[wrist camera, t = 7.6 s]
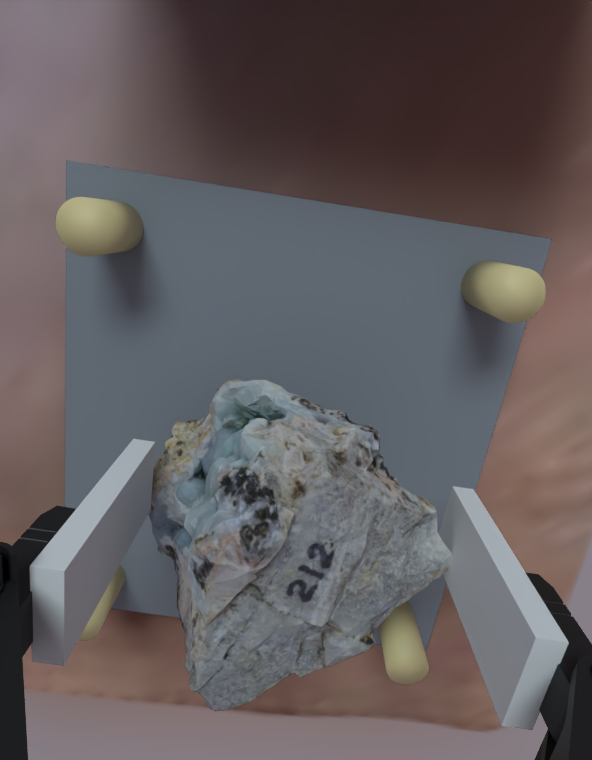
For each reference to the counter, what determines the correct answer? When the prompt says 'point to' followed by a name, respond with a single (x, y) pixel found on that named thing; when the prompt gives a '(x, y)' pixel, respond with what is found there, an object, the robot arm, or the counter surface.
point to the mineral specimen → (283, 539)
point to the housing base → (284, 341)
